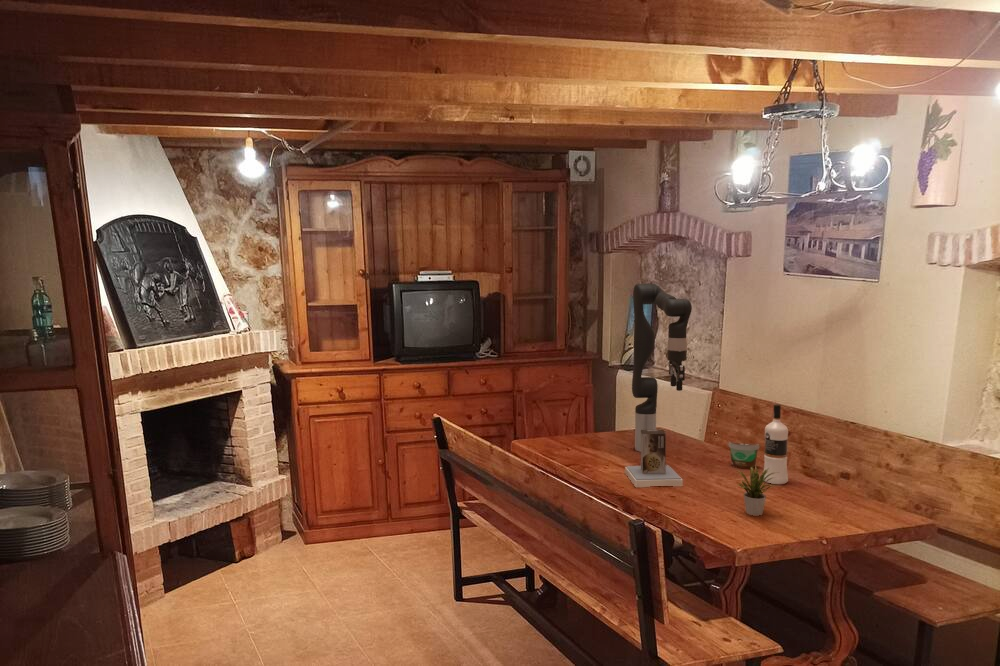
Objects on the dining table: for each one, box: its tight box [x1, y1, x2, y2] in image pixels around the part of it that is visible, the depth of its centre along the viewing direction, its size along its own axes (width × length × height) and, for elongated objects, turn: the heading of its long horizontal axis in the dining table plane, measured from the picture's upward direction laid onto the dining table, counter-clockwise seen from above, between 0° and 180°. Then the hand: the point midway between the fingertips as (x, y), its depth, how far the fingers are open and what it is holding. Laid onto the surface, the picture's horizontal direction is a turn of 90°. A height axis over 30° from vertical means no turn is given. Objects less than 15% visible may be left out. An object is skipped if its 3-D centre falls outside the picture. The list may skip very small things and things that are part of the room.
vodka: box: [762, 404, 789, 485], centre depth 267 cm, size 9×9×30 cm
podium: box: [624, 464, 684, 488], centre depth 273 cm, size 18×18×3 cm
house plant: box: [735, 465, 777, 517], centre depth 233 cm, size 14×14×16 cm
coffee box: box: [640, 429, 667, 474], centre depth 272 cm, size 9×6×16 cm
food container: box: [727, 441, 761, 470], centre depth 287 cm, size 12×6×10 cm, turn 68°
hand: (676, 388), depth 282 cm, fingers open, 8 cm apart
